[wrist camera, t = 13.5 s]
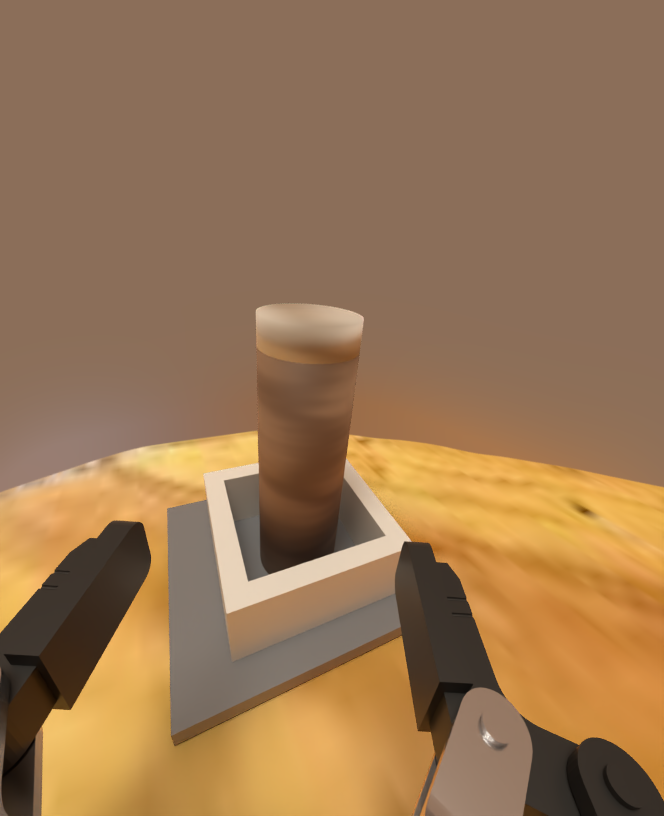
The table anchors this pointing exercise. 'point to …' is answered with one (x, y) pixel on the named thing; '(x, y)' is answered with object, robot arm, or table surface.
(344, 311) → the walnut post
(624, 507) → the table surface
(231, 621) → the post well
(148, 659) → the table surface
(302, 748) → the table surface
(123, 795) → the table surface
